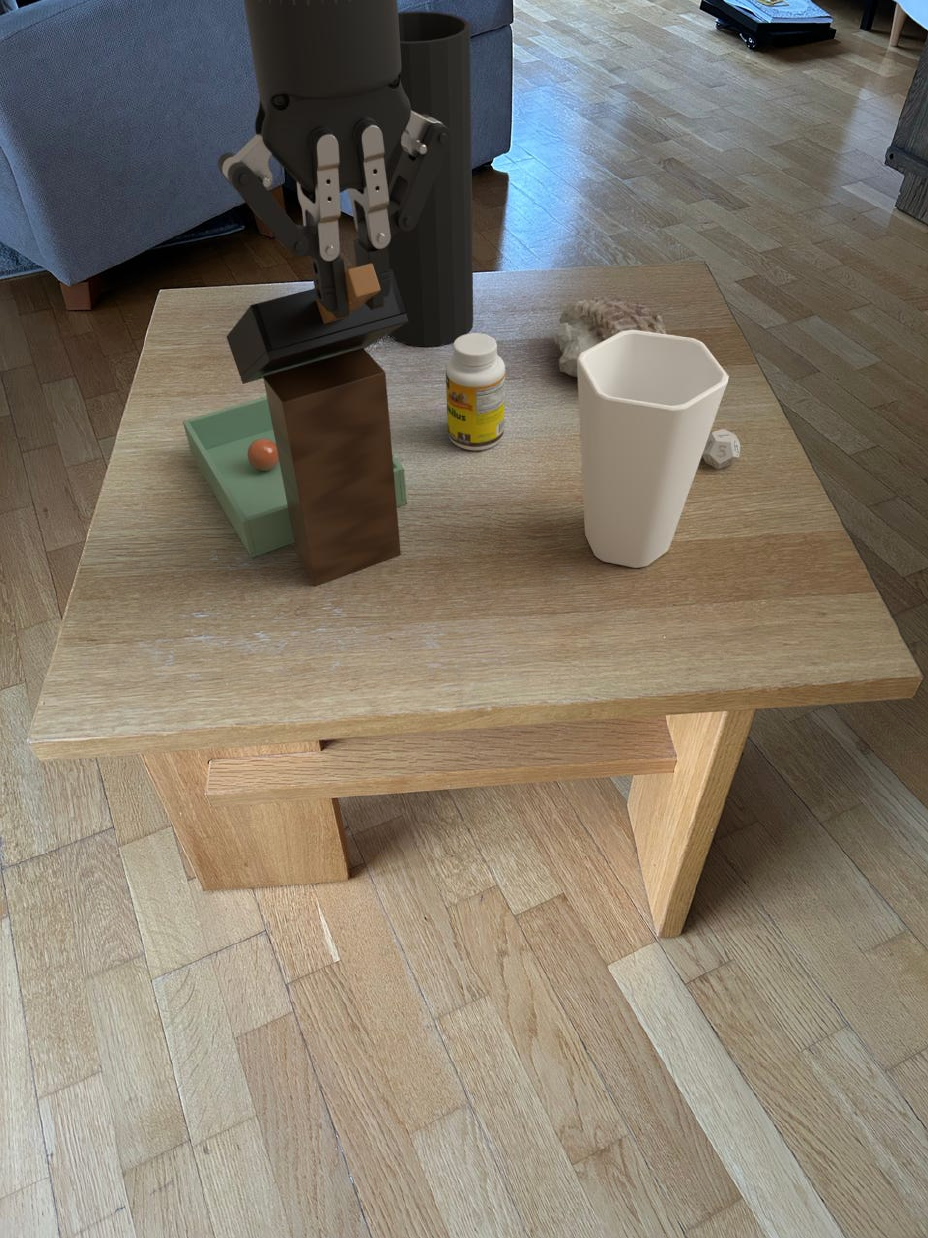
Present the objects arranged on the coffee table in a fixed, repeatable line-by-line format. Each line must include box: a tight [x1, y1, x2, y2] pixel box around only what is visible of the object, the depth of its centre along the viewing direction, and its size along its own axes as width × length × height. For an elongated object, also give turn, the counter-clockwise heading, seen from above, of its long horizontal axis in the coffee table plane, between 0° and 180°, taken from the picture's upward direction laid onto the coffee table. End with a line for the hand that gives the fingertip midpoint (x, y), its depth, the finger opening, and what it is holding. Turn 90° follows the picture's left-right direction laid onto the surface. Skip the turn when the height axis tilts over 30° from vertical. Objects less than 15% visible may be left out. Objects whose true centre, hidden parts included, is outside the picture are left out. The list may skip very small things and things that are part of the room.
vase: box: [385, 10, 474, 348], centre depth 99 cm, size 10×10×30 cm
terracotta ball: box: [247, 438, 279, 471], centre depth 89 cm, size 3×3×3 cm
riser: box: [262, 348, 402, 587], centre depth 76 cm, size 8×4×18 cm, turn 118°
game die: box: [701, 428, 741, 470], centre depth 90 cm, size 4×4×3 cm
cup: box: [577, 330, 730, 569], centre depth 77 cm, size 11×10×17 cm
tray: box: [182, 395, 408, 558], centre depth 88 cm, size 15×17×4 cm
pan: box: [225, 264, 408, 385], centre depth 64 cm, size 10×19×4 cm
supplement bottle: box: [445, 332, 506, 451], centre depth 90 cm, size 6×6×10 cm
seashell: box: [553, 295, 667, 378], centre depth 100 cm, size 14×9×10 cm
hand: (355, 307), depth 58 cm, fingers closed on pan
